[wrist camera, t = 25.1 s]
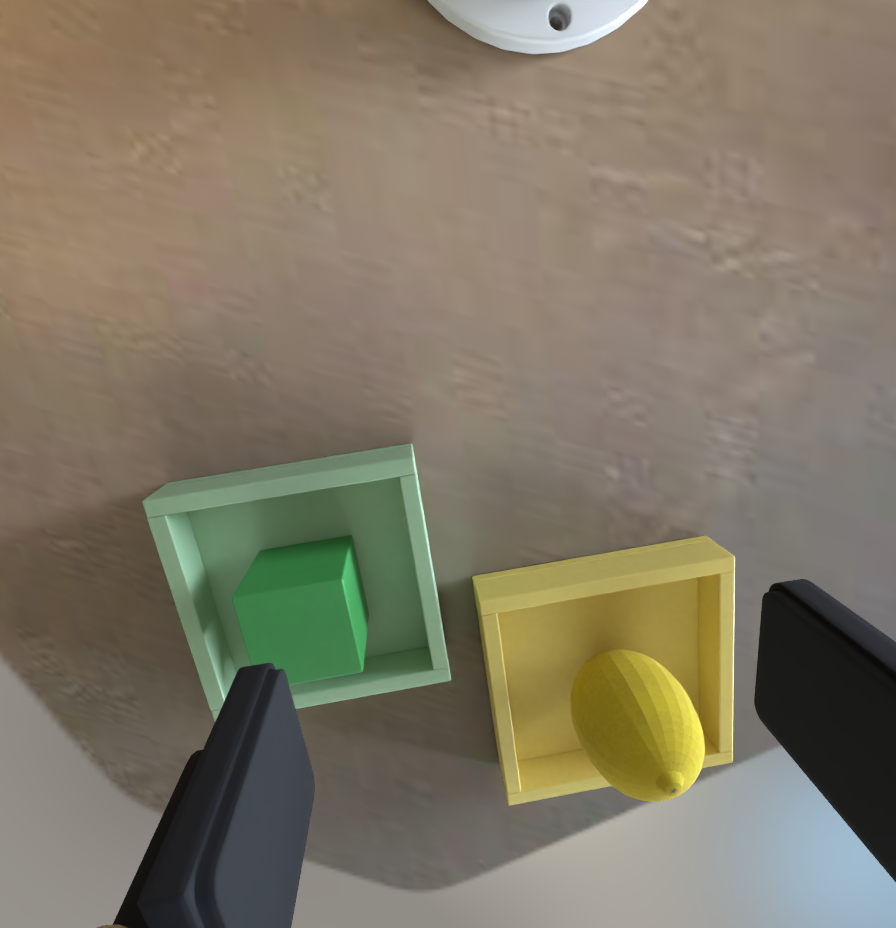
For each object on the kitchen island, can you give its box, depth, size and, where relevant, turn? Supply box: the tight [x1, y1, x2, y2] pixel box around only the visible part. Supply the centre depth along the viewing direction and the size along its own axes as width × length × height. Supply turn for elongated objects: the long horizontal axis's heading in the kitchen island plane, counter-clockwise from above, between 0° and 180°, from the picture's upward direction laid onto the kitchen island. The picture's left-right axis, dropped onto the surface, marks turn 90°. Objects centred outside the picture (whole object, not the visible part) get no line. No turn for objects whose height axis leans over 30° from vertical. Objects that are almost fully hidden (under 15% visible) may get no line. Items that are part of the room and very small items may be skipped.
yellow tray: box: [472, 536, 735, 805], centre depth 28 cm, size 13×13×3 cm
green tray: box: [142, 443, 451, 722], centre depth 25 cm, size 12×12×3 cm
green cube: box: [231, 535, 369, 685], centre depth 24 cm, size 4×4×4 cm
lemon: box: [570, 650, 705, 802], centre depth 25 cm, size 6×6×8 cm
